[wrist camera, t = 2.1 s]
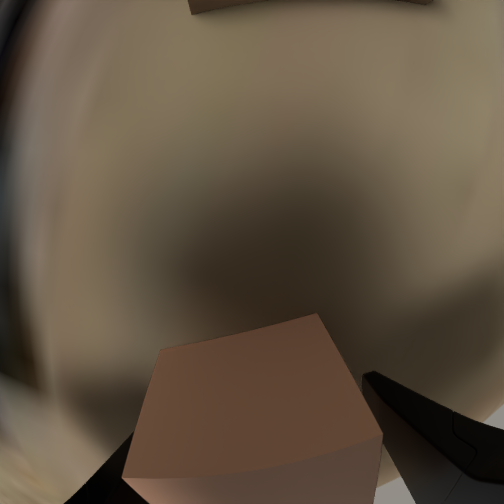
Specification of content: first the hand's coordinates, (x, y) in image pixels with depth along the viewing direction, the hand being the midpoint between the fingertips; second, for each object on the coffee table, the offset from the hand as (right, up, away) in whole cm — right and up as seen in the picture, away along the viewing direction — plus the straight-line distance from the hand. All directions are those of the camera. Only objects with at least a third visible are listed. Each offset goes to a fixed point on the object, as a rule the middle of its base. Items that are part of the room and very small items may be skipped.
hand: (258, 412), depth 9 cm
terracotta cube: (0, 0, +1) cm, 1 cm away
